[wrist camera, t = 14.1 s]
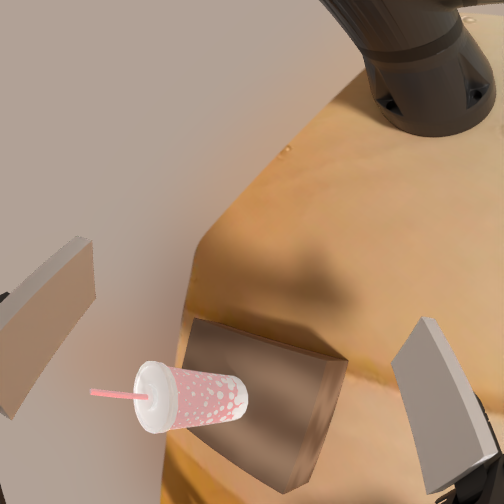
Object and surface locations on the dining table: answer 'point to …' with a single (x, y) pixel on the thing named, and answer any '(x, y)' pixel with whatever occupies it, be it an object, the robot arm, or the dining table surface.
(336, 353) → the dining table surface
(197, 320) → the walnut pedestal
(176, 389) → the beverage cup
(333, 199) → the dining table surface
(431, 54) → the robot arm
